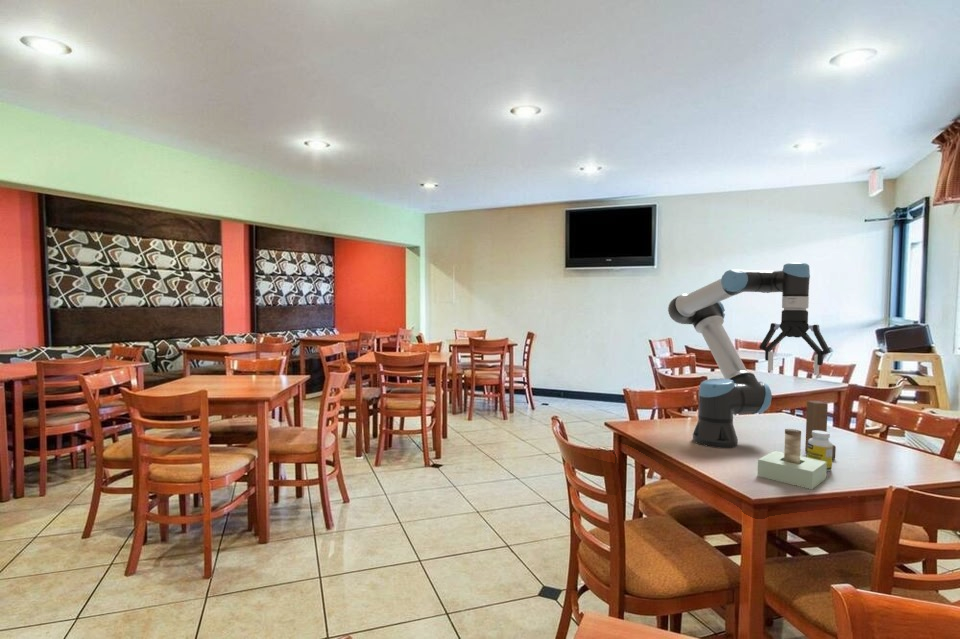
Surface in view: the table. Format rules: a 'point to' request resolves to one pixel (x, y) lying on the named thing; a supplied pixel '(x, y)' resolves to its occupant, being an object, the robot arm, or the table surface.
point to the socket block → (792, 470)
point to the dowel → (792, 446)
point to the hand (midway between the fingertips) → (792, 372)
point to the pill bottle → (820, 447)
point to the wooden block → (816, 420)
